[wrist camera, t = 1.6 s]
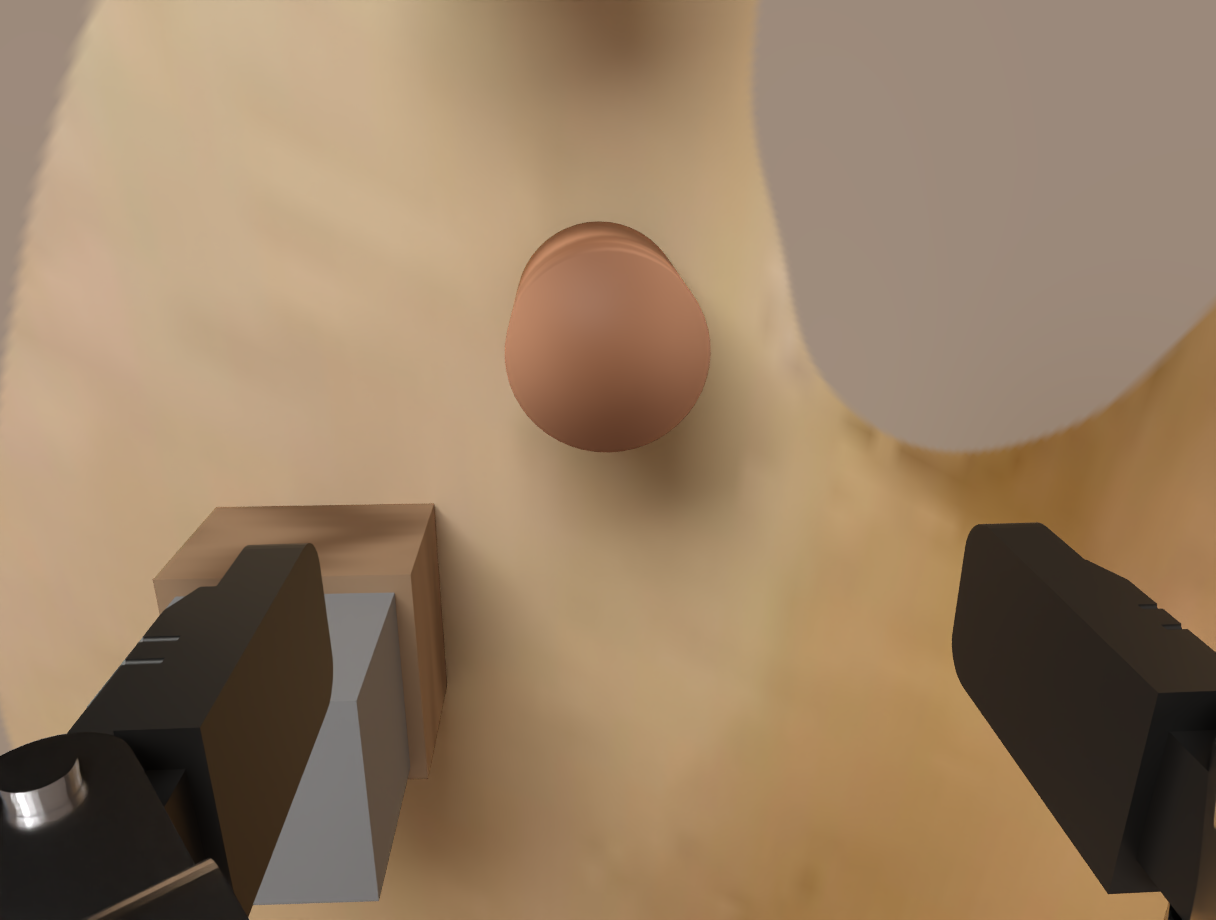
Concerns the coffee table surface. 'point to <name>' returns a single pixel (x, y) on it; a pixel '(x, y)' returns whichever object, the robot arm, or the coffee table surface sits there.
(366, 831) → the tower top
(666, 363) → the brown rounded knob
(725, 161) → the coffee table surface
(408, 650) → the tower base
